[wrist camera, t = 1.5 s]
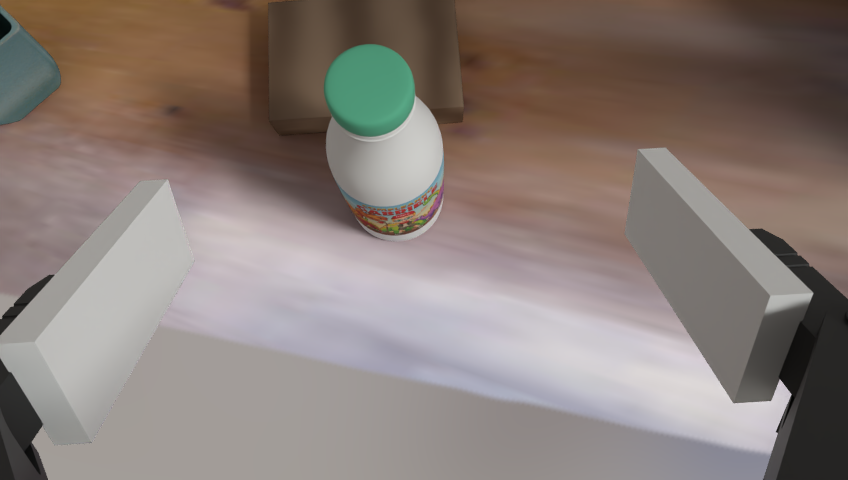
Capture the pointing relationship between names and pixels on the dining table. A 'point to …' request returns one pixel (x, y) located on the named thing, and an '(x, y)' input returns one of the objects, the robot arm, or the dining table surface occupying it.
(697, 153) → the dining table surface
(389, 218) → the milk bottle
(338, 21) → the brown flat block
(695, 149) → the dining table surface
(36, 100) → the flower pot
